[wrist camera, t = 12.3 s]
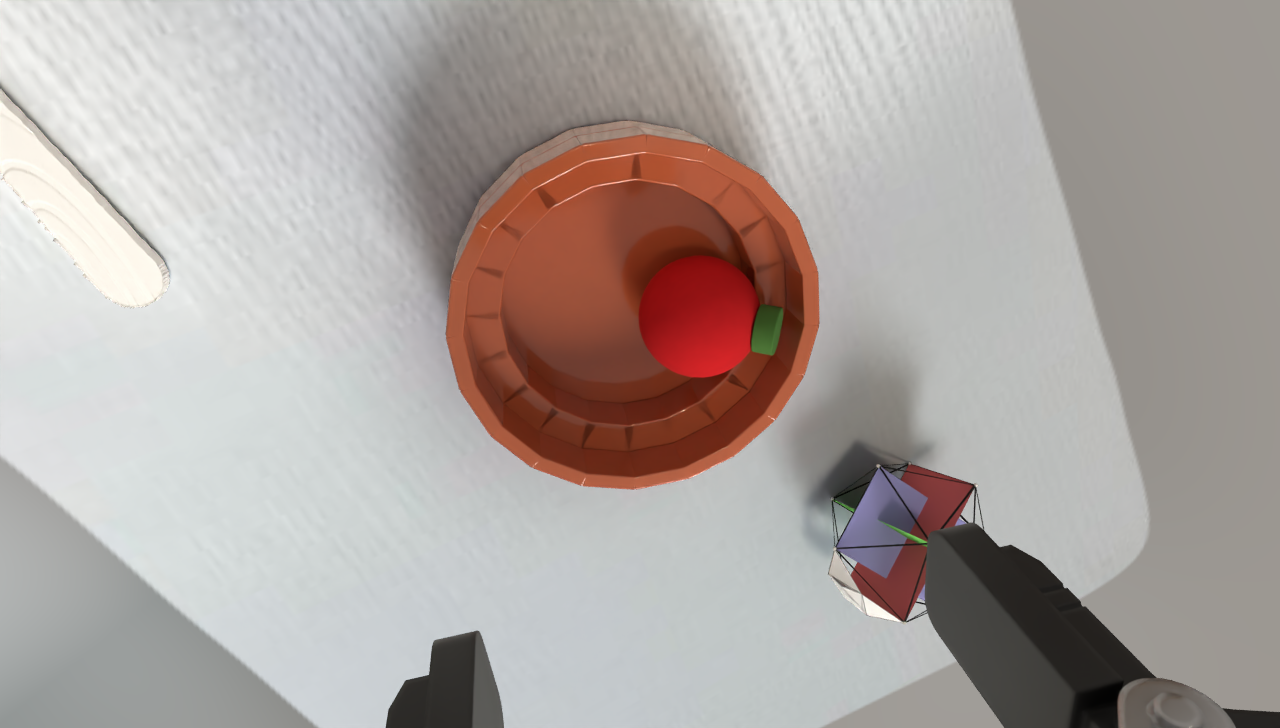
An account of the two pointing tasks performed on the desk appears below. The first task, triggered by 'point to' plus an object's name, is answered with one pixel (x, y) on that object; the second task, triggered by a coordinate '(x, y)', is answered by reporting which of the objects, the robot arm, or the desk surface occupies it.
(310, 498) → the desk surface
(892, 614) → the geometric puzzle
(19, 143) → the spoon
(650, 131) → the bowl
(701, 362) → the tomato
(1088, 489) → the desk surface
